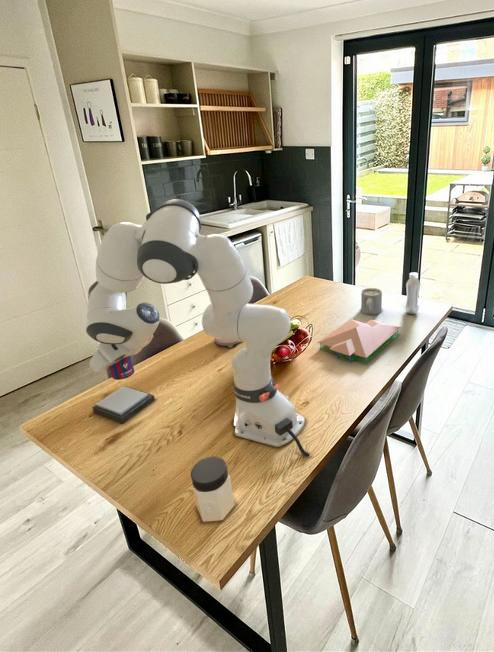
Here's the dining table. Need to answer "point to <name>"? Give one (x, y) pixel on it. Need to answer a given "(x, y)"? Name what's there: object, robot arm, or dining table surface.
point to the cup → (122, 368)
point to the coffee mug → (371, 301)
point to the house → (359, 338)
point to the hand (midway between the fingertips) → (115, 361)
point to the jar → (212, 489)
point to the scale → (123, 404)
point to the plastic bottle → (412, 294)
